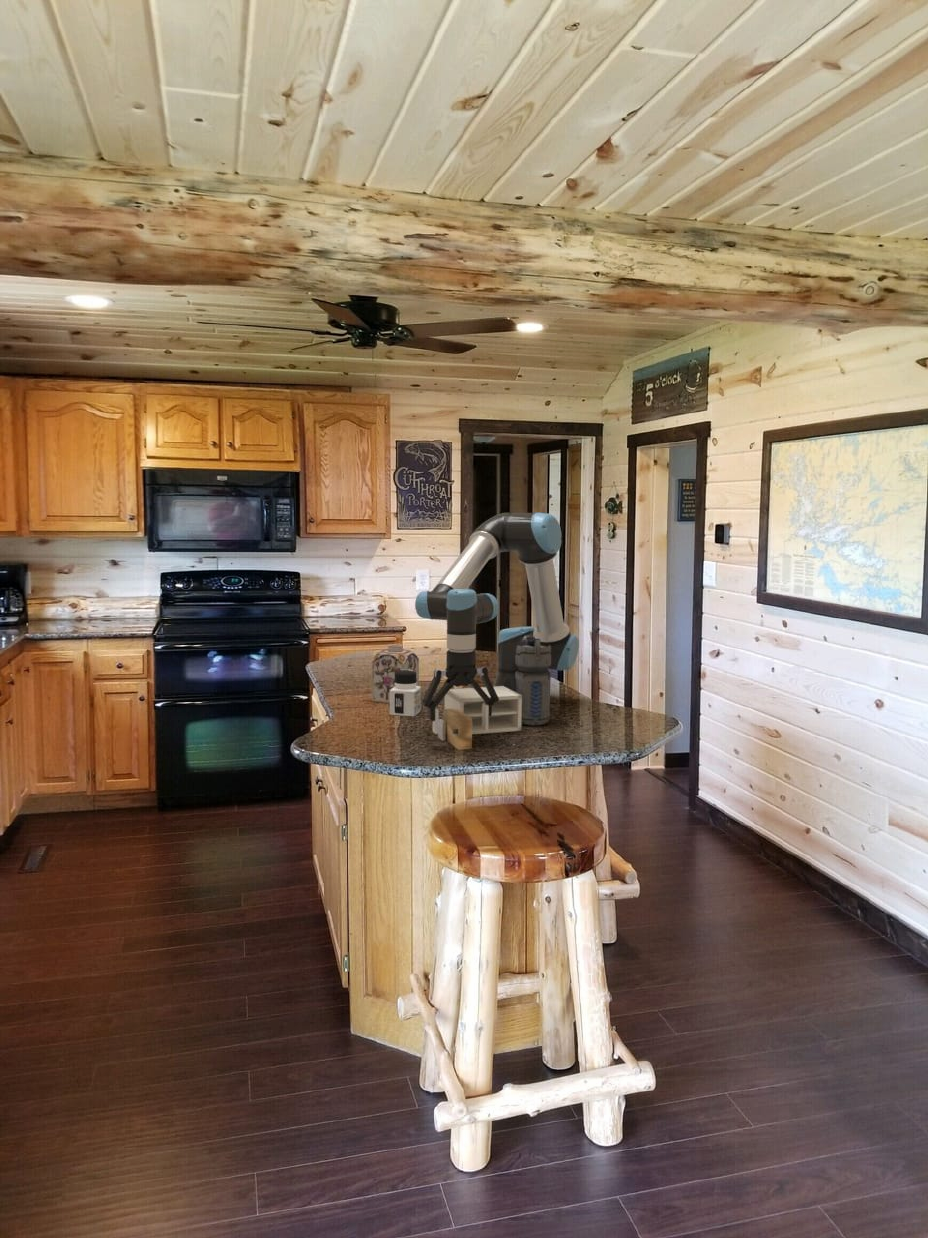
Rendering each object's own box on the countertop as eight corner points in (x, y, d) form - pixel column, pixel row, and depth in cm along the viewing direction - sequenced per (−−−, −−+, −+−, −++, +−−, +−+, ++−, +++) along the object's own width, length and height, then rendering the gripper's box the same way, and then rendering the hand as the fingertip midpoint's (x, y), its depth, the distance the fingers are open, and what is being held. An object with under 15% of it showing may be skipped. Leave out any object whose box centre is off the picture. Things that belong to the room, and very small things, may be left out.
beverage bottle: (542, 716, 257) (544, 633, 254) (554, 726, 244) (556, 639, 241) (509, 717, 255) (511, 633, 252) (518, 727, 242) (520, 639, 239)
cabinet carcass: (502, 719, 252) (503, 685, 251) (521, 730, 239) (521, 695, 238) (443, 723, 246) (444, 689, 245) (459, 735, 233) (460, 698, 232)
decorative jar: (370, 702, 274) (370, 646, 272) (387, 695, 285) (387, 641, 283) (404, 705, 270) (404, 648, 267) (420, 698, 280) (420, 643, 278)
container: (414, 716, 254) (414, 673, 253) (389, 715, 256) (389, 672, 254) (420, 711, 262) (421, 669, 260) (396, 709, 263) (396, 667, 262)
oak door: (456, 737, 231) (457, 708, 230) (471, 749, 219) (472, 718, 218) (440, 739, 229) (441, 709, 228) (455, 750, 218) (455, 719, 217)
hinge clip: (460, 735, 232) (460, 717, 232) (465, 739, 229) (465, 720, 228) (437, 737, 230) (438, 719, 230) (442, 741, 226) (442, 722, 226)
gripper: (501, 645, 228) (500, 723, 231) (410, 649, 220) (410, 731, 222) (511, 649, 221) (510, 730, 223) (418, 654, 213) (418, 738, 215)
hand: (460, 731), depth 223 cm, fingers open, 13 cm apart
